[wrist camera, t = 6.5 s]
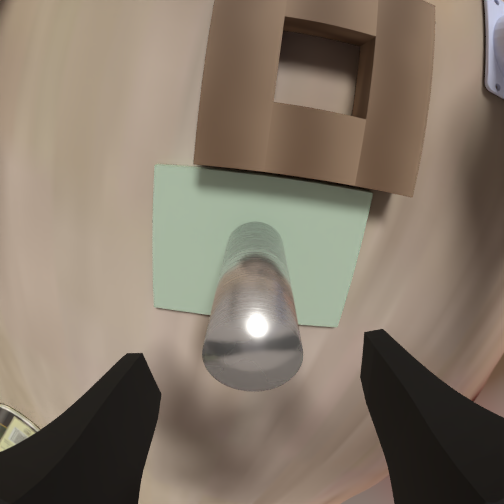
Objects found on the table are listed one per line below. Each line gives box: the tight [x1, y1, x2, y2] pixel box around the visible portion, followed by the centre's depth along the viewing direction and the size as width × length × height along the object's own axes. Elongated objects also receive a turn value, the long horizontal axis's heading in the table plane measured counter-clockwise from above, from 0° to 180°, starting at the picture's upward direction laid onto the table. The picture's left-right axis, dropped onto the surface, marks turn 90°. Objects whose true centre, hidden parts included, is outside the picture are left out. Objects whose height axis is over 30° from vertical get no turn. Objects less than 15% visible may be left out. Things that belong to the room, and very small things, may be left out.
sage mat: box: [153, 164, 373, 327], centre depth 18 cm, size 12×9×1 cm
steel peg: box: [202, 222, 303, 391], centre depth 14 cm, size 3×3×9 cm
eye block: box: [194, 0, 435, 197], centre depth 13 cm, size 11×11×2 cm
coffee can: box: [0, 404, 40, 452], centre depth 23 cm, size 10×10×14 cm
